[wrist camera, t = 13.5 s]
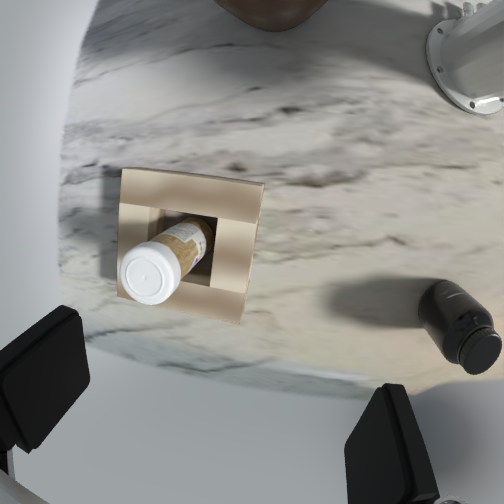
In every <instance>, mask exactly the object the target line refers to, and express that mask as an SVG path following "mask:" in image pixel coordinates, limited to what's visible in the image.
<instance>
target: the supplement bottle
mask: <svg viewBox="0 0 504 504" xmlns="http://www.w3.org/2000/svg"><path fill="white" fill-rule="evenodd" d="M418 315H419V319H420V322H421V323H422V325H423V327H424V328H425V329H426V331H427V332H428V334H429V335H430V337H431V338H432V340H433V341H434V342H435V344H436V345H437V347H438V348H439V350H440V351H441V353H442V354H443V356H444V357H445V358H446V359H447V360H448V361H449V362H451V363H454V364H460V365H461V366H462V367H463V368H464V370H465V371H466V372H467V373H469V374H472V375H477V374H480V373H482V372H484V371H486V370H488V368H490V367H491V366H492V365H493V364H494V362H495V361H496V360H497V358H498V357H499V354H500V353H501V349H502V341H501V338H500V336H499V335H498V334H497V333H496V332H495V330H494V324H493V319H492V316H491V314H490V313H489V312H488V311H487V310H486V309H485V308H484V307H483V306H482V305H481V304H480V303H479V302H477V301H476V300H475V299H474V298H473V297H472V296H471V295H469V294H468V293H467V292H466V291H465V290H464V289H462V288H461V287H460V286H459V285H457V284H456V283H454V282H451V281H442V282H439V283H436V284H434V285H433V286H431V287H430V288H429V289H428V290H427V291H426V292H425V294H424V295H423V297H422V299H421V301H420V304H419V309H418Z"/></svg>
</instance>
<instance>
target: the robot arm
mask: <svg viewBox="0 0 504 504" xmlns="http://www.w3.org/2000/svg"><path fill="white" fill-rule="evenodd" d="M476 8H477V12H476V13H474V9H473V5H472V4H471V3H467V2H465V3H463V10H464V16H463V17H462V18H460V19H459V20H445V21H442V22H440V23H439V24H437V25H436V26H435V27H434V28H433V29H432V30H431V31H430V33H429V35H428V38H427V42H426V54H427V60H428V63H429V67H430V70H431V72H432V74H433V76H434V78H435V80H436V82H437V83H438V85H439V86H440V88H441V89H442V91H443V92H444V93H445V94H446V95H447V97H448V98H449V99H450V100H452V101H453V102H454V103H455V104H456V105H457V106H459V107H460V108H462V109H463V110H465V111H467V112H469V113H472V114H476V115H490V114H493V113H496V112H498V111H499V110H500V109H501V108H502V107H503V106H504V0H492V1H491V2H490V3H488V4H487V5H486V4H483V3H478V4H477V5H476ZM437 70H438V71H437ZM89 382H90V374H89V368H88V362H87V356H86V349H85V341H84V334H83V326H82V319H81V317H80V316H79V313H78V312H77V311H76V310H75V309H72V308H69V307H67V306H64V305H60V306H58V307H57V308H56V309H55V310H53V311H52V312H50V313H49V314H48V315H46V316H45V317H43V318H42V319H41V320H39V321H38V322H37V323H36V324H34V325H33V326H31V327H30V328H29V329H27V330H26V331H25V332H24V333H22V334H21V335H20V336H18V337H17V338H16V339H14V340H13V341H12V342H11V343H9V344H8V345H7V346H6V347H4V348H3V349H2V350H0V504H49V503H48V502H46V501H44V500H43V499H41V498H40V497H38V496H37V495H35V494H34V493H32V492H31V491H29V490H28V489H26V488H25V487H23V486H22V485H21V484H19V483H18V482H17V481H15V474H14V465H13V453H12V448H13V446H14V445H15V444H16V445H17V446H18V447H19V448H21V449H22V450H24V451H25V452H27V453H28V454H29V453H30V452H31V450H32V449H36V448H38V447H39V446H40V445H41V443H42V442H43V441H44V439H45V438H46V437H47V436H48V434H49V433H50V432H51V431H52V429H53V428H54V427H55V426H56V424H57V423H58V422H59V421H60V419H61V418H62V417H63V416H64V415H65V413H66V412H67V411H68V409H69V408H70V407H71V406H72V405H73V404H74V402H75V401H76V400H77V399H78V397H79V396H80V395H81V394H82V393H83V391H84V390H85V389H86V388H87V387H88V385H89ZM344 454H345V467H346V480H347V495H348V504H467V503H466V502H465V501H463V500H462V499H461V498H459V497H456V496H444V497H441V498H440V495H439V491H438V488H437V484H436V480H435V477H434V473H433V470H432V466H431V463H430V460H429V456H428V453H427V450H426V447H425V444H424V441H423V438H422V435H421V432H420V430H419V427H418V424H417V421H416V418H415V415H414V413H413V410H412V407H411V404H410V401H409V398H408V396H407V393H406V390H405V388H404V386H403V385H401V384H390V383H385V384H384V385H383V386H382V387H378V388H377V389H376V390H375V392H374V394H373V396H372V398H371V400H370V402H369V403H368V405H367V407H366V409H365V411H364V412H363V414H362V416H361V418H360V420H359V421H358V423H357V425H356V426H355V428H354V430H353V431H352V433H351V435H350V436H349V438H348V439H347V441H346V444H345V448H344Z"/></svg>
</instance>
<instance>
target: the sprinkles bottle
mask: <svg viewBox="0 0 504 504" xmlns="http://www.w3.org/2000/svg"><path fill="white" fill-rule="evenodd" d="M213 241H214V236H213V232H212V229H211V227H210V226H209V225H208V224H207V223H206V222H205V221H204V220H203V219H200V218H196V217H191V218H187V219H185V220H183V221H181V222H180V223H179V224H177V225H175V226H173V227H171V228H169V229H168V230H166V231H164V232H162V233H161V234H159V235H157V236H155V237H154V238H153V239H152V240H150V241H148V242H143V243H141V244H139V245H137V246H135V247H134V248H132V249H131V250H129V251H128V252H127V253H126V254H125V255H124V257H123V258H122V260H121V263H120V268H119V275H120V280H121V283H122V285H123V287H124V289H125V290H126V292H127V293H128V294H129V295H130V296H131V297H132V298H133V299H135V300H136V301H138V302H140V303H143V304H147V305H156V304H159V303H162V302H164V301H165V300H166V299H167V298H169V296H170V295H171V294H172V293H173V292H174V291H175V290H176V288H177V287H178V285H179V282H180V280H181V279H182V278H183V277H184V276H185V275H186V274H187V273H188V272H189V271H190V270H191V269H192V268H193V267H194V266H195V265H196V264H197V263H198V262H199V260H200V259H201V258H202V257H203V255H205V254H206V253H208V252H209V251H210V249H211V247H212V245H213Z"/></svg>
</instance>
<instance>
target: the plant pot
mask: <svg viewBox="0 0 504 504" xmlns="http://www.w3.org/2000/svg"><path fill="white" fill-rule="evenodd" d="M214 1H215V2H216V3H218V4H219V5H220V6H221V7H223V8H224V9H225V10H227V11H228V12H230V13H231V14H233V15H234V16H236V17H237V18H239V19H240V20H242V21H244V22H246V23H247V24H249V25H251V26H253V27H256V28H258V29H261V30H264V31H270V32H279V31H285V30H289V29H291V28H293V27H295V26H297V25H299V24H300V23H302V22H303V21H305V20H306V19H307V18H309V17H310V16H311V15H313V14H314V13H315V12H316V11H317V10H318V9H319V8H320V7H322V6H323V5H324V4H325V3H326V2H327V1H328V0H214Z"/></svg>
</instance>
